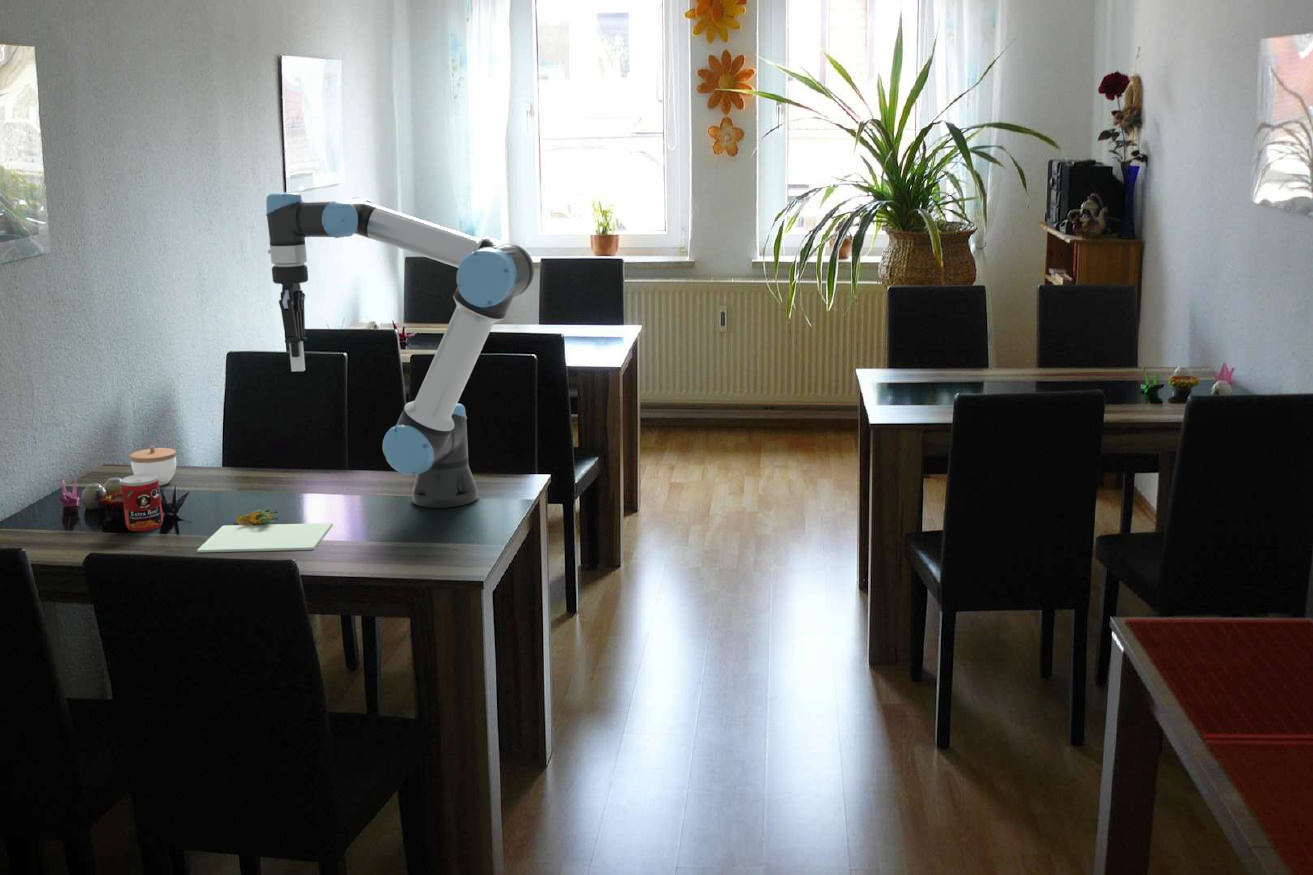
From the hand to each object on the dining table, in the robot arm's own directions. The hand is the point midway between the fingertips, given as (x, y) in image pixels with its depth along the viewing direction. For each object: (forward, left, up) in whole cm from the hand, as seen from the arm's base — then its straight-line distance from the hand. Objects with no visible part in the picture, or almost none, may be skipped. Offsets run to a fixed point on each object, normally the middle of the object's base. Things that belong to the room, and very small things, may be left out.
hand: (298, 370), depth 286 cm
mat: (+4, +21, -32) cm, 39 cm away
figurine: (+7, +8, -31) cm, 33 cm away
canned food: (+34, +10, -33) cm, 48 cm away
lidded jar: (+45, -27, -33) cm, 62 cm away
